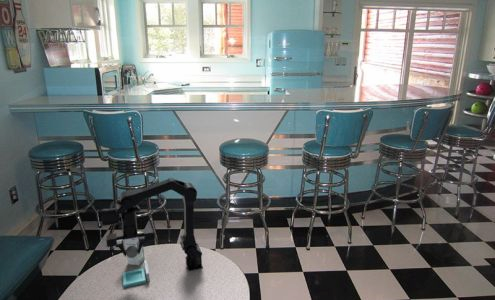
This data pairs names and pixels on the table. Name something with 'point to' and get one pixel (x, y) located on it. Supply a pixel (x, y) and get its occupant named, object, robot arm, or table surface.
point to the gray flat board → (146, 270)
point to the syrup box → (139, 257)
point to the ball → (131, 251)
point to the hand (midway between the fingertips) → (132, 255)
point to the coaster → (134, 277)
